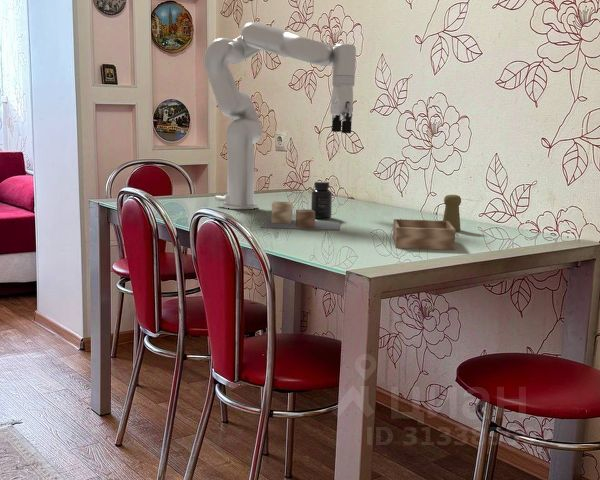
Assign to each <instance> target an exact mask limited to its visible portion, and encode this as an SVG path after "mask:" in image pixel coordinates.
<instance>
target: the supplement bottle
mask: <svg viewBox="0 0 600 480" xmlns="http://www.w3.org/2000/svg"><path fill="white" fill-rule="evenodd" d="M329 188H330V181H329V182H327V181H315V182H314V189H313V190H312V191H311V195H310V196H311V198H310V199H311V201H310V202H311V203H310V204H311V205H310V208H311V209H310V210H313V211H315V220H330V219H331V218H332V212H333V211H332V208H333V207H332V204H333V192H332V191H331V190H330V189H329Z"/></svg>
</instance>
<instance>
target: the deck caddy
mask: <svg viewBox="0 0 600 480" xmlns="http://www.w3.org/2000/svg"><path fill="white" fill-rule="evenodd" d="M392 225H393V227H392V239H393V244H394V247H395V249H415V248H416V249H418V250H419V249H420V250H422V249H423V250H444V249H446V251H447V249H448V251H453V250H454V251H455V241H456V232H455V228H454V227H453V226H452V225H451V224H450V222H449V221H443V220H433V219H432V220H430V219H429V220H428V219H403V218H402V219H401V218H400V219H399V218H398V219H397V218H396V219H395V218H393V223H392Z"/></svg>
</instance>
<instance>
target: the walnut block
mask: <svg viewBox="0 0 600 480" xmlns="http://www.w3.org/2000/svg"><path fill="white" fill-rule="evenodd" d="M295 220H296V226H297V227H298V228H315V221H316V219H315V211H313V210H311V209H295Z"/></svg>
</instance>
